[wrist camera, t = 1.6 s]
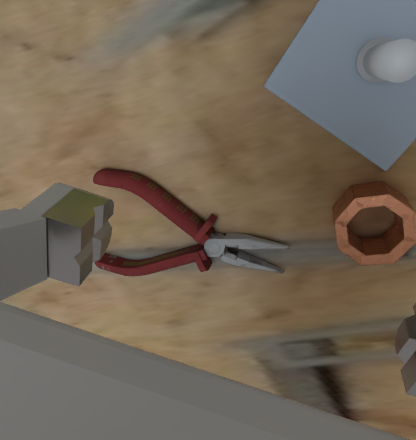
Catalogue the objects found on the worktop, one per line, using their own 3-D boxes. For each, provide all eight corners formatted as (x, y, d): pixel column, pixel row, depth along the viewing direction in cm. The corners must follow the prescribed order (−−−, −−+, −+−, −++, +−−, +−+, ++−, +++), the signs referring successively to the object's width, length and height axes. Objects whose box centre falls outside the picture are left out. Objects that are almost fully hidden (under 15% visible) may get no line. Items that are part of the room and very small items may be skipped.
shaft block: (504, 31, 27) (597, 17, 18) (383, 166, 33) (409, 207, 24) (364, -68, 27) (389, -129, 18) (265, 85, 33) (247, 95, 24)
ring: (422, 209, 33) (434, 225, 30) (373, 258, 36) (379, 277, 33) (365, 169, 33) (370, 181, 30) (320, 221, 36) (320, 236, 33)
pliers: (277, 302, 41) (275, 316, 38) (101, 260, 44) (89, 271, 42) (299, 199, 36) (298, 209, 34) (101, 163, 40) (88, 169, 37)
